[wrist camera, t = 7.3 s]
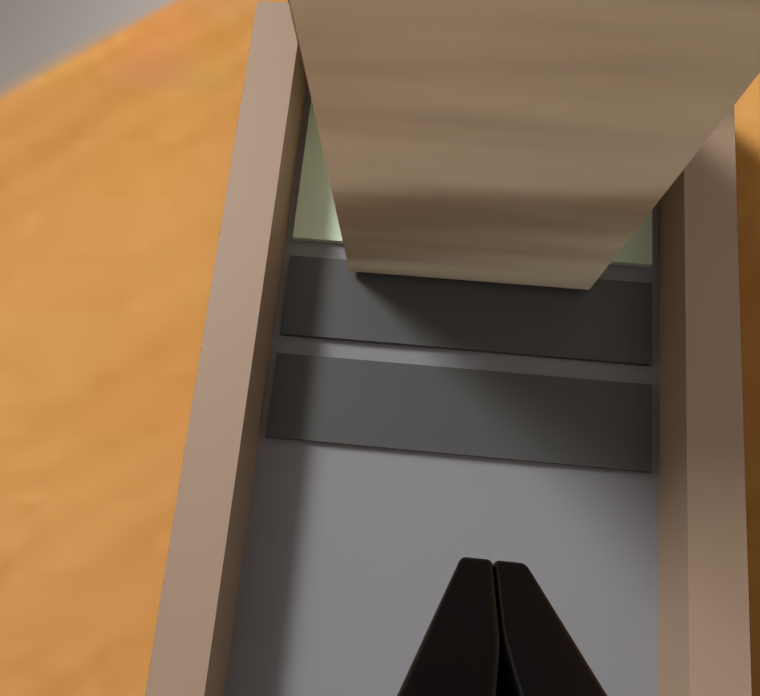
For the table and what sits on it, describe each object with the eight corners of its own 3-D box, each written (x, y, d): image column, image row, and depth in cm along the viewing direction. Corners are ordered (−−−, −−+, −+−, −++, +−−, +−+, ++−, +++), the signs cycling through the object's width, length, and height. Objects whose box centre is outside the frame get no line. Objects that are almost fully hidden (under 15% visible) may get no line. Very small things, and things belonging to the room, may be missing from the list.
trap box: (694, 943, 15) (828, 1137, 10) (158, 874, 16) (50, 1026, 11) (684, 98, 20) (772, -35, 16) (278, 73, 21) (240, -62, 16)
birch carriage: (593, 293, 17) (892, -74, 7) (345, 274, 18) (253, -104, 7) (597, 108, 19) (856, -451, 8) (365, 93, 19) (315, -460, 8)
